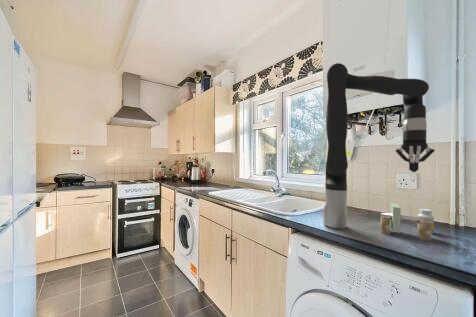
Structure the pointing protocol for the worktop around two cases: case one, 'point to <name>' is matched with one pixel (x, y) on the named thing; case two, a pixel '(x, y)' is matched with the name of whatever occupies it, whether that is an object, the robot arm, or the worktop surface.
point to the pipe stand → (423, 228)
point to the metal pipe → (407, 218)
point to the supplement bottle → (427, 214)
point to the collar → (395, 217)
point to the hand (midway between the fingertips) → (413, 171)
